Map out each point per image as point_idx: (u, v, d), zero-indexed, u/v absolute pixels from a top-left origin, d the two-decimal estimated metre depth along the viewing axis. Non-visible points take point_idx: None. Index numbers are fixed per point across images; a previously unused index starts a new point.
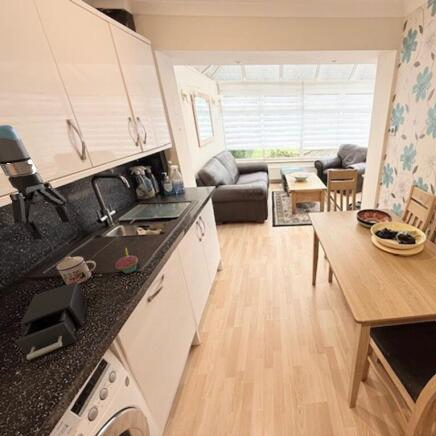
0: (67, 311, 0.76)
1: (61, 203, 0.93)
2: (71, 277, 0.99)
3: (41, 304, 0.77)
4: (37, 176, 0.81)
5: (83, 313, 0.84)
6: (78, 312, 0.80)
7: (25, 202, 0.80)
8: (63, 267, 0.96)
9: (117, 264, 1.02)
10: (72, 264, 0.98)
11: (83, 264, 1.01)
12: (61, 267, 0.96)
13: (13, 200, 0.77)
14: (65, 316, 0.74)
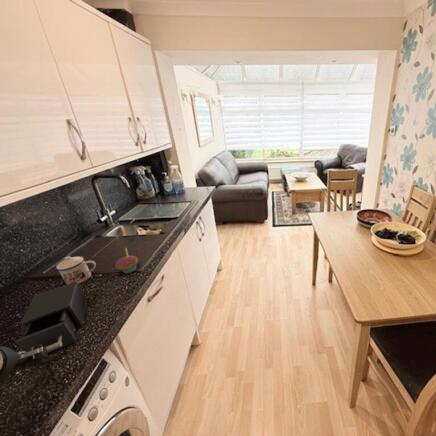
0: (67, 311, 0.76)
1: (34, 362, 0.59)
2: (71, 277, 0.99)
3: (41, 304, 0.77)
4: None
5: (83, 313, 0.84)
6: (78, 312, 0.80)
7: None
8: (63, 267, 0.96)
9: (117, 264, 1.02)
10: (72, 264, 0.98)
11: (83, 264, 1.01)
12: (61, 267, 0.96)
13: None
14: (65, 316, 0.74)
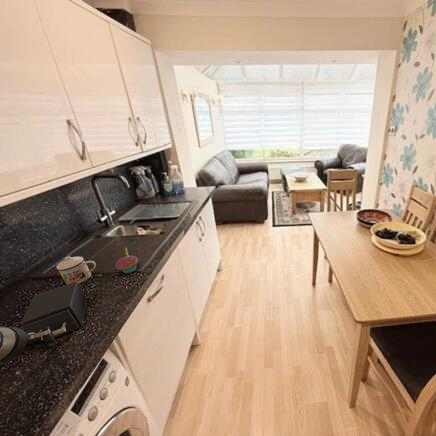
0: None
1: (42, 345, 0.65)
2: (71, 277, 0.99)
3: (41, 304, 0.77)
4: (1, 362, 0.51)
5: (83, 313, 0.84)
6: (78, 312, 0.80)
7: None
8: (63, 267, 0.96)
9: (117, 264, 1.02)
10: (72, 264, 0.98)
11: (83, 264, 1.01)
12: (61, 267, 0.96)
13: None
14: None
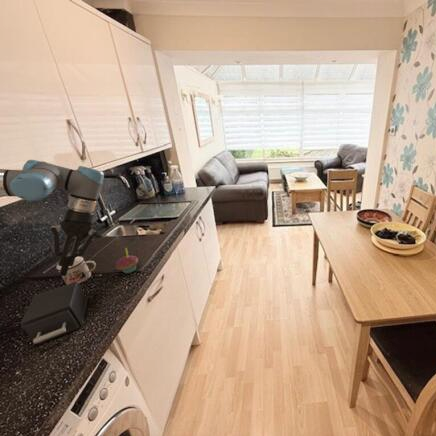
0: None
1: (73, 254, 0.85)
2: (71, 277, 0.99)
3: (41, 304, 0.77)
4: (82, 215, 0.83)
5: (83, 313, 0.84)
6: (78, 312, 0.80)
7: (66, 236, 0.83)
8: None
9: (117, 264, 1.02)
10: None
11: (83, 264, 1.01)
12: None
13: (53, 232, 0.81)
14: None
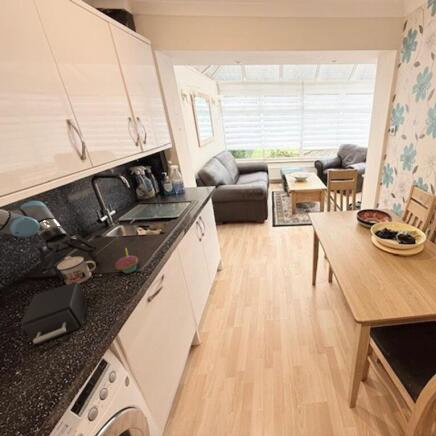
0: None
1: (88, 249, 1.06)
2: (72, 277, 0.99)
3: (41, 304, 0.77)
4: (53, 230, 1.00)
5: (83, 313, 0.84)
6: (78, 312, 0.80)
7: None
8: (63, 267, 0.96)
9: (117, 264, 1.02)
10: (73, 264, 0.98)
11: (83, 264, 1.01)
12: (61, 267, 0.96)
13: None
14: None
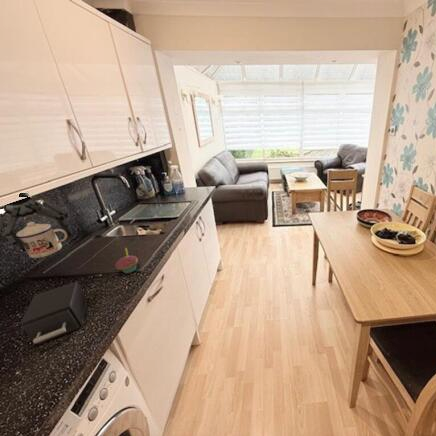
0: None
1: (58, 215, 0.88)
2: (35, 247, 0.81)
3: (41, 304, 0.77)
4: None
5: (83, 313, 0.84)
6: (78, 312, 0.80)
7: None
8: (24, 234, 0.79)
9: (117, 264, 1.02)
10: (36, 231, 0.80)
11: (51, 232, 0.84)
12: (22, 234, 0.79)
13: None
14: None
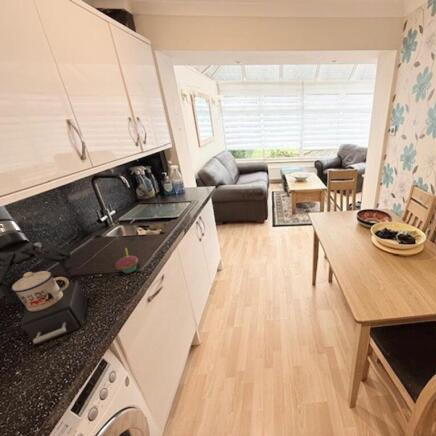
0: None
1: (59, 258, 0.80)
2: (33, 300, 0.73)
3: None
4: (7, 235, 0.74)
5: (83, 313, 0.84)
6: (78, 312, 0.80)
7: None
8: (21, 287, 0.71)
9: (117, 264, 1.02)
10: (34, 283, 0.72)
11: (50, 282, 0.76)
12: (18, 287, 0.71)
13: None
14: None
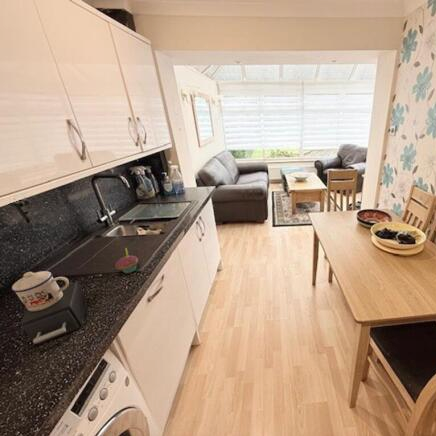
0: None
1: (16, 202, 0.84)
2: (33, 300, 0.73)
3: None
4: None
5: (83, 313, 0.84)
6: (78, 312, 0.80)
7: None
8: (21, 287, 0.71)
9: (117, 264, 1.02)
10: (34, 283, 0.72)
11: (50, 282, 0.76)
12: (18, 287, 0.71)
13: None
14: None
